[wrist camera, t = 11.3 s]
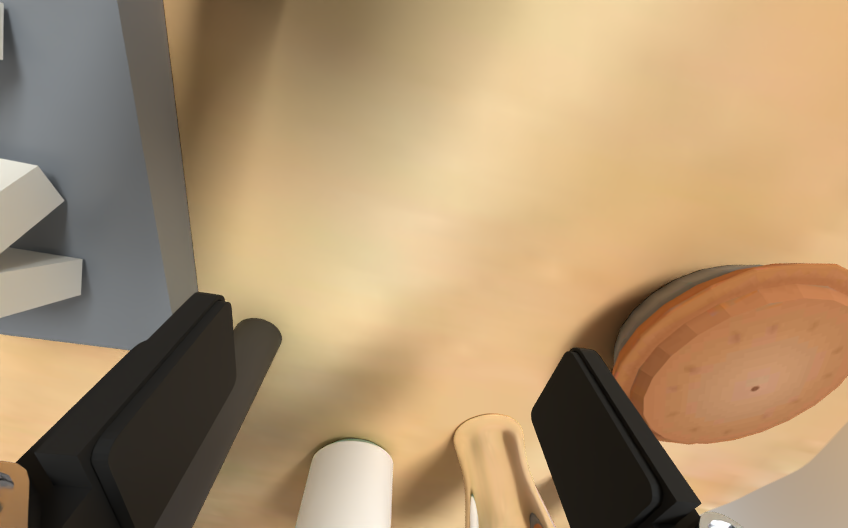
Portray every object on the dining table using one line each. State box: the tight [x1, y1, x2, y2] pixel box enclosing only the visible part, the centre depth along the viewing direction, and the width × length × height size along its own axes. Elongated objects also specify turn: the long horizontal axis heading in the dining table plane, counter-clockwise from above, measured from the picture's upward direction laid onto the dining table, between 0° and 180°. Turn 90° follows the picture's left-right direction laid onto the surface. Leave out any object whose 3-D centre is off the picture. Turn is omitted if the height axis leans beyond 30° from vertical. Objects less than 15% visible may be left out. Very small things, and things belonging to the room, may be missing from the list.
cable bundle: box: [154, 318, 282, 528], centre depth 13 cm, size 3×3×20 cm
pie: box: [612, 263, 848, 444], centre depth 21 cm, size 16×16×5 cm
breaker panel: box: [0, 0, 198, 350], centre depth 15 cm, size 20×11×2 cm, turn 167°
